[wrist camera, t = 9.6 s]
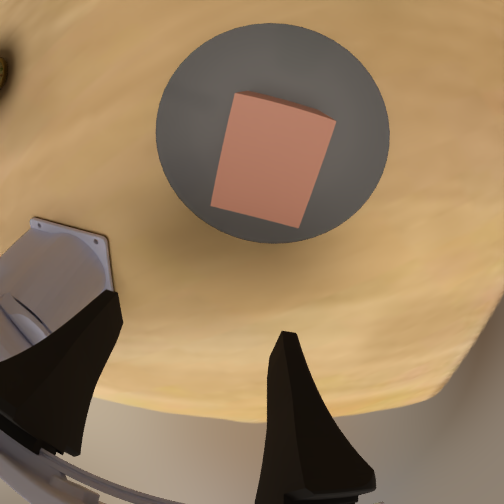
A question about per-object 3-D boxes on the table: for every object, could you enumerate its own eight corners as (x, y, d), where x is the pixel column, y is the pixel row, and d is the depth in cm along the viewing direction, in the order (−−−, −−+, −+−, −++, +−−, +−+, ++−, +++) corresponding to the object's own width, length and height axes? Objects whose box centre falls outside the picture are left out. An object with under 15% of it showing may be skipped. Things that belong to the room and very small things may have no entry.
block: (228, 171, 16) (210, 206, 12) (247, 90, 13) (234, 92, 9) (293, 187, 16) (298, 228, 12) (318, 109, 14) (336, 121, 9)
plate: (152, 212, 19) (148, 217, 18) (182, 12, 11) (178, 10, 10) (340, 256, 20) (342, 263, 19) (410, 72, 12) (416, 72, 11)
